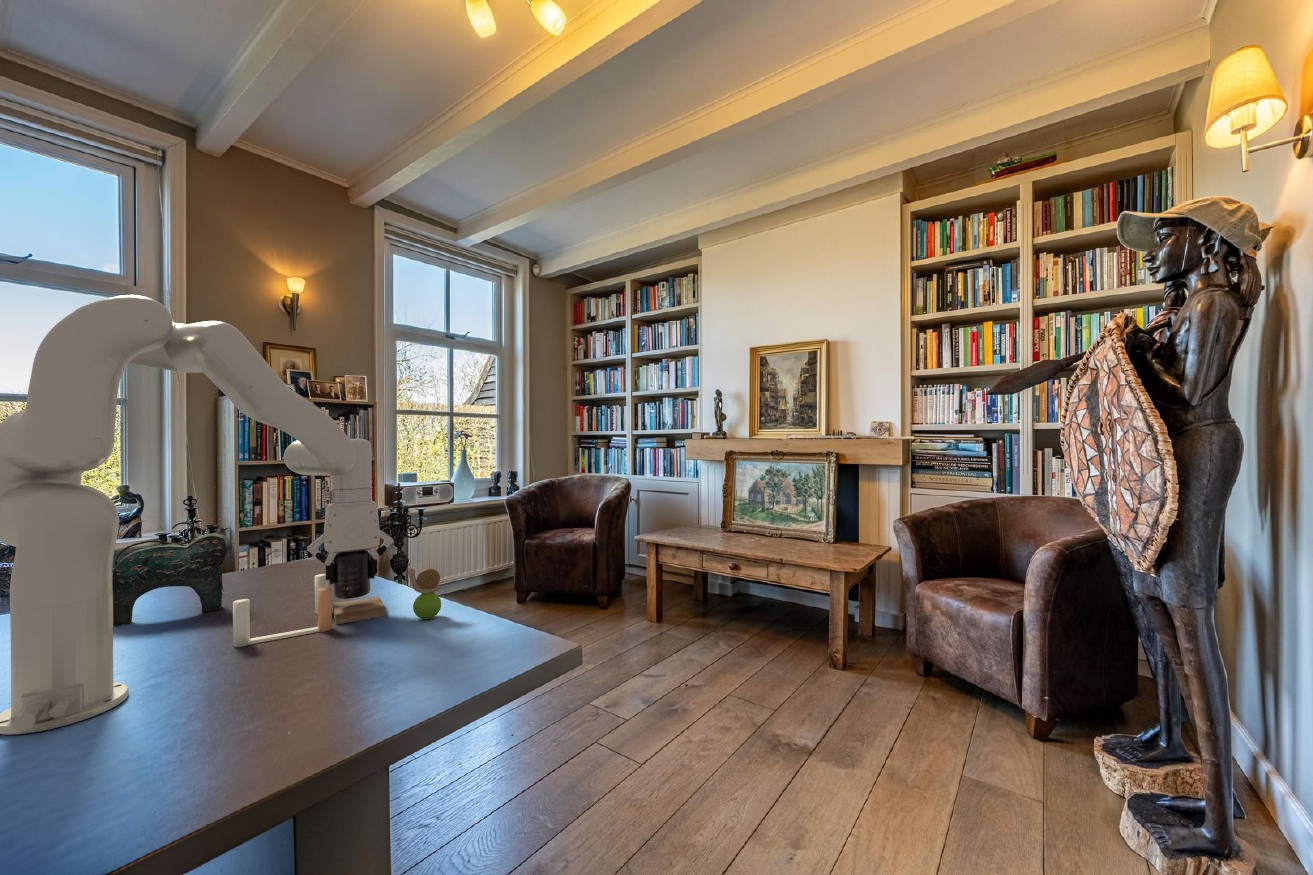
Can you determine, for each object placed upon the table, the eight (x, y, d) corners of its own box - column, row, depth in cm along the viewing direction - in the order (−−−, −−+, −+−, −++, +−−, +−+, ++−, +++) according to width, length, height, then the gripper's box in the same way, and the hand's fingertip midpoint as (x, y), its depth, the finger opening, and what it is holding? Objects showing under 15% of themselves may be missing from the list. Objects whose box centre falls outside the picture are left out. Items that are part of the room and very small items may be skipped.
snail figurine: (407, 617, 112) (407, 560, 112) (440, 612, 115) (440, 557, 115) (407, 625, 107) (407, 565, 107) (442, 620, 110) (441, 562, 110)
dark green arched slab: (231, 603, 122) (230, 516, 122) (230, 611, 117) (229, 520, 117) (109, 622, 110) (108, 526, 110) (101, 631, 105) (100, 530, 105)
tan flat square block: (385, 615, 113) (385, 606, 113) (335, 624, 108) (335, 614, 108) (379, 605, 120) (379, 596, 120) (332, 612, 115) (332, 603, 115)
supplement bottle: (339, 591, 116) (338, 536, 116) (373, 589, 118) (373, 534, 118) (328, 600, 109) (328, 542, 109) (365, 597, 111) (365, 540, 111)
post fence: (332, 629, 105) (332, 589, 105) (232, 648, 96) (232, 603, 96) (327, 609, 117) (327, 573, 117) (239, 623, 109) (238, 584, 109)
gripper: (303, 501, 105) (303, 591, 105) (399, 495, 115) (399, 577, 115) (302, 497, 111) (302, 582, 111) (393, 492, 121) (394, 570, 121)
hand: (352, 579), depth 113 cm, fingers closed on supplement bottle, 6 cm apart
